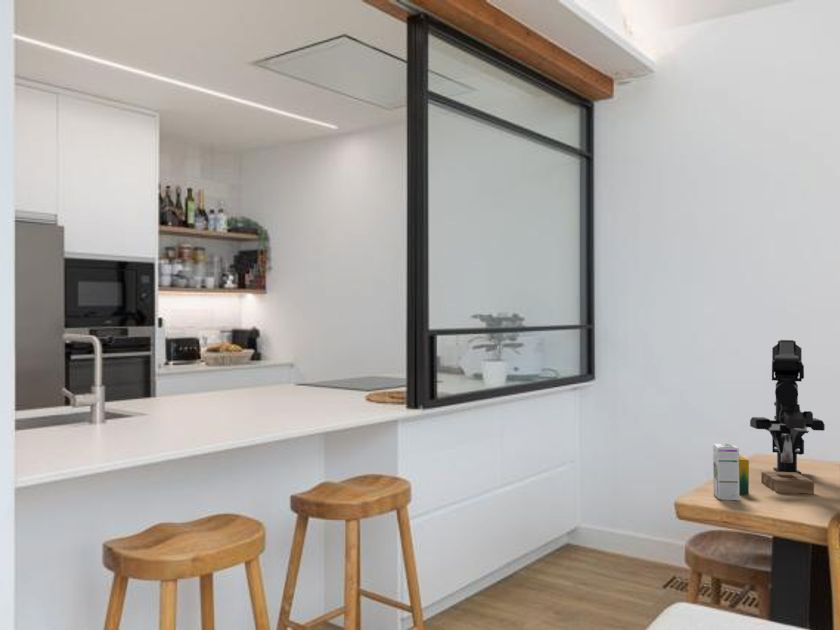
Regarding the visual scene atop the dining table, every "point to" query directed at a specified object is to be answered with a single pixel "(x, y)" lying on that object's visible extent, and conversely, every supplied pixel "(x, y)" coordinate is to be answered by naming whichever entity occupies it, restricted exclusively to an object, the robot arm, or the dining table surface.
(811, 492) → the hole block
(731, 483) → the syrup box
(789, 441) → the peg
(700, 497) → the dining table surface
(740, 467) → the crayon box
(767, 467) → the dining table surface
